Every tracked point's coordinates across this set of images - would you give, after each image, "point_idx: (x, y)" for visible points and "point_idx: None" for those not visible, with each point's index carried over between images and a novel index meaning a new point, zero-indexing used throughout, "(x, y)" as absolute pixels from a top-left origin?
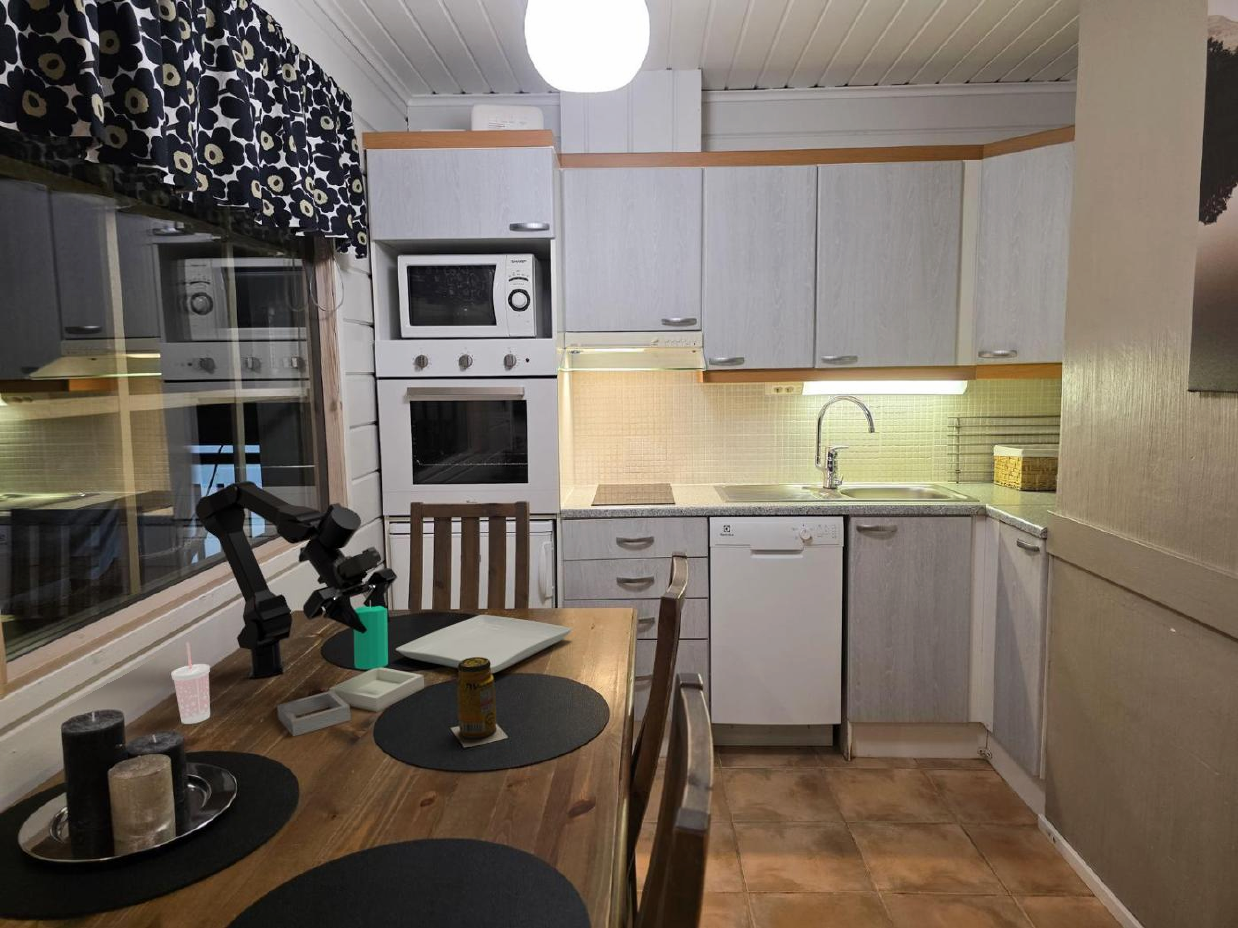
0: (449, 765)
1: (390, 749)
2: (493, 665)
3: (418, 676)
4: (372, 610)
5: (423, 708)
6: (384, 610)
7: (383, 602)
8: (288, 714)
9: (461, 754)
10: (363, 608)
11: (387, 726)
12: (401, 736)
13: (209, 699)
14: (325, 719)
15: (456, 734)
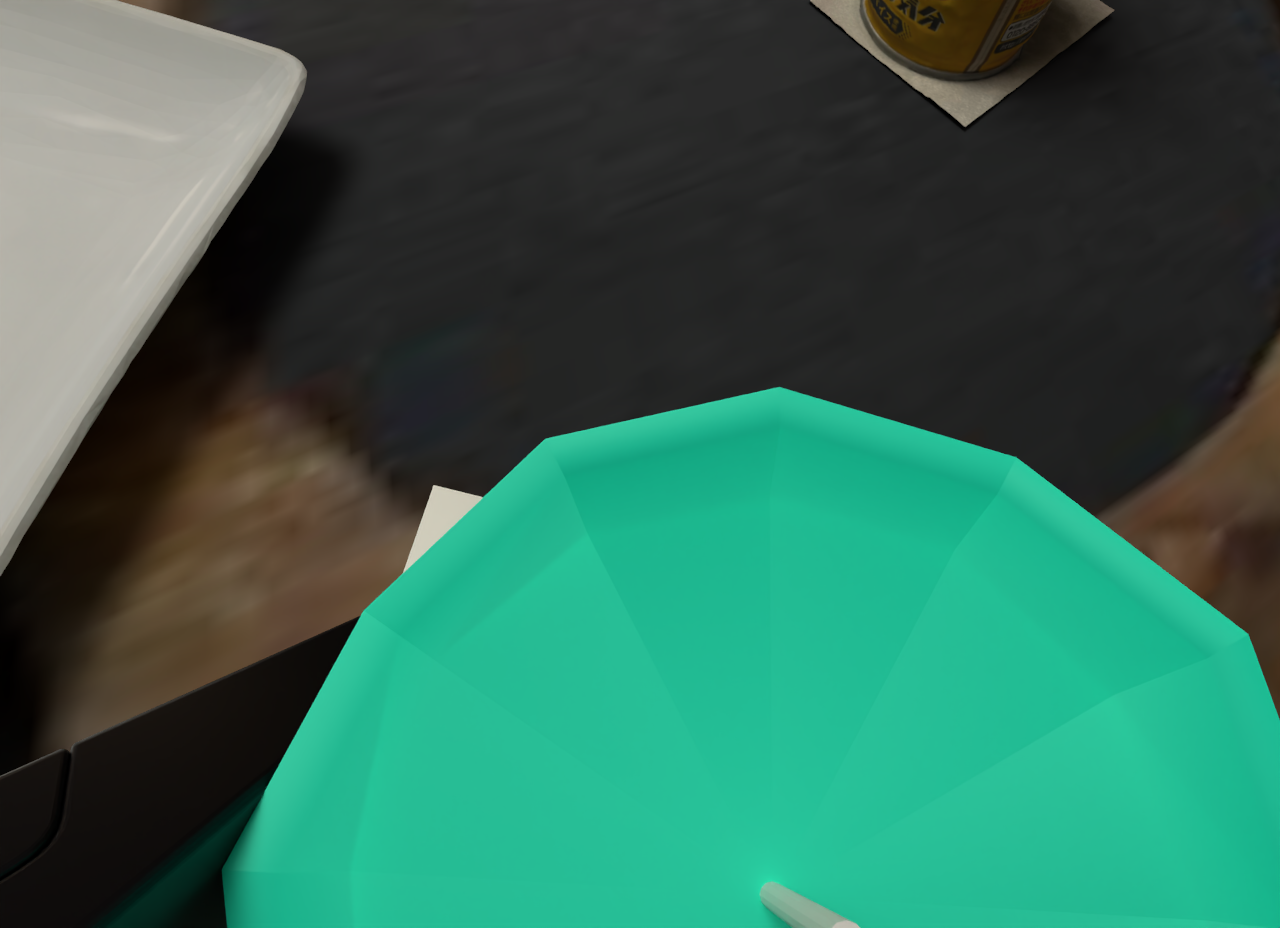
0: (1250, 20)
1: (1257, 299)
2: (55, 196)
3: (464, 511)
4: (652, 895)
5: (771, 366)
6: (752, 404)
7: (53, 808)
8: None
9: (1154, 11)
10: None
11: (1052, 449)
12: (1122, 315)
13: None
14: None
15: (1008, 85)
